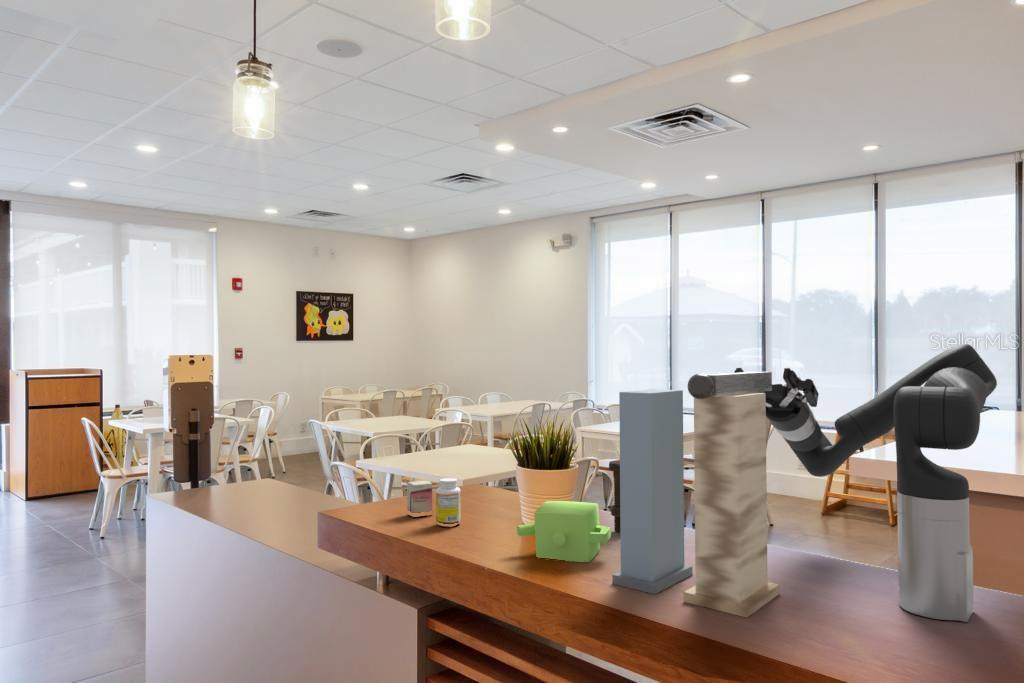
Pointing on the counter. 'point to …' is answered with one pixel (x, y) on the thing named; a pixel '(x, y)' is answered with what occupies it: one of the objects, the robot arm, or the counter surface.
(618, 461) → the bolt
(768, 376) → the lever bar
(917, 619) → the counter surface
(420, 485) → the small box
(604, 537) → the gearbox
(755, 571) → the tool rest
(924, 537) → the robot arm
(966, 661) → the counter surface
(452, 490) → the supplement bottle
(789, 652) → the counter surface
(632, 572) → the post
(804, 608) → the counter surface
